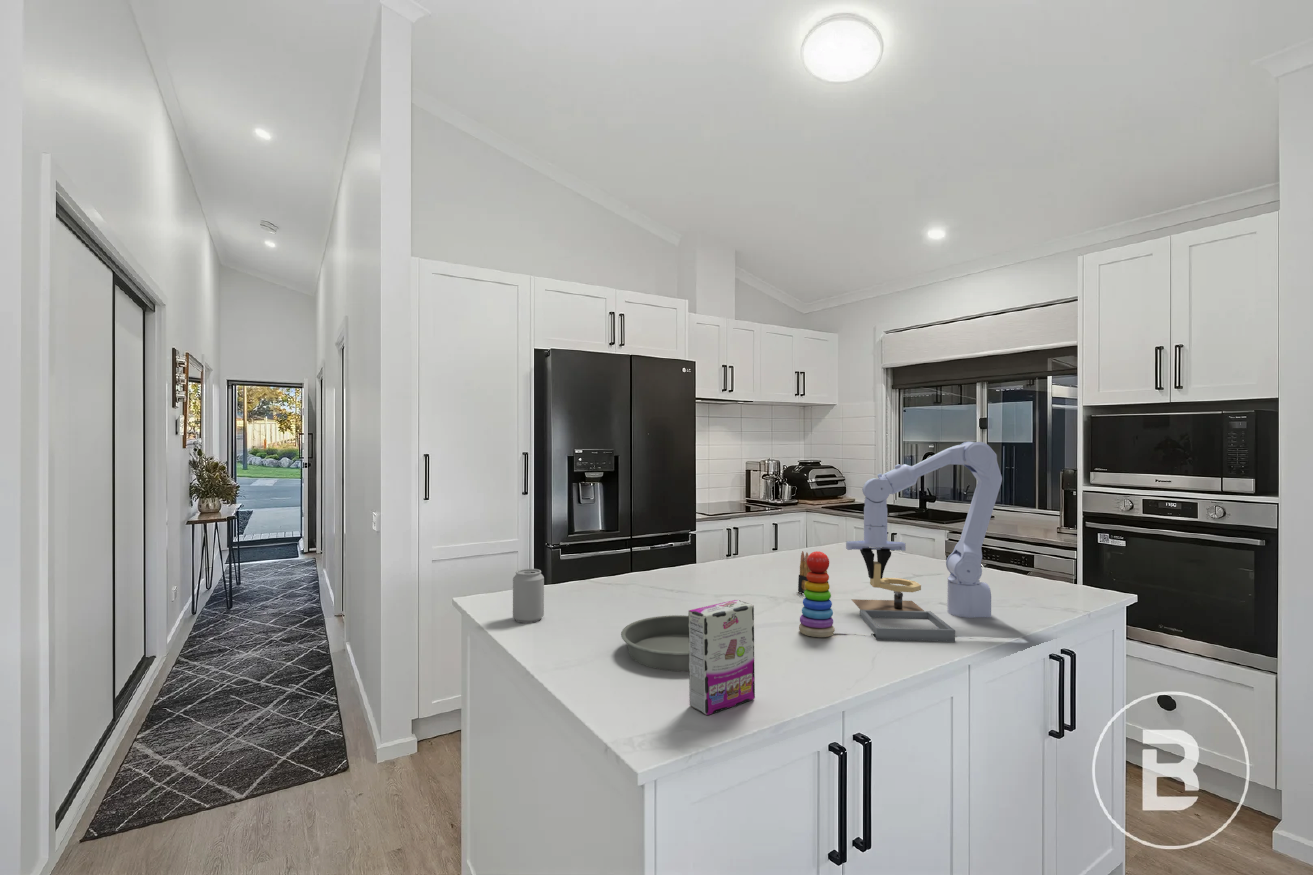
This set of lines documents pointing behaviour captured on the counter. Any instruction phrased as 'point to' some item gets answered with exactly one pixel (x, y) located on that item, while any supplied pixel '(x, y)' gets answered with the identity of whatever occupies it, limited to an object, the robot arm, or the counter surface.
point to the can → (528, 595)
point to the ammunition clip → (803, 573)
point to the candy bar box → (721, 656)
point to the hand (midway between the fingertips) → (875, 577)
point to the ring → (892, 582)
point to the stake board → (885, 605)
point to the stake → (898, 600)
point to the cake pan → (659, 642)
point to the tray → (908, 633)
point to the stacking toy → (817, 599)
